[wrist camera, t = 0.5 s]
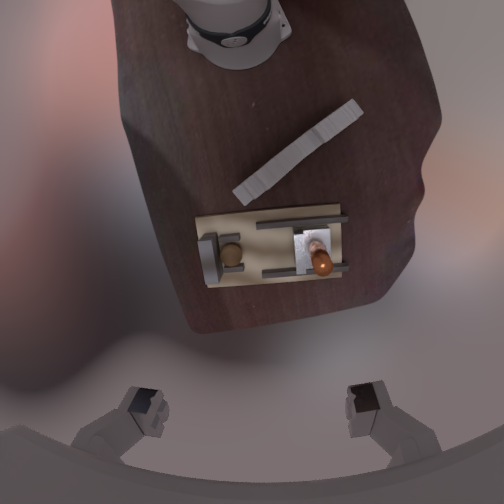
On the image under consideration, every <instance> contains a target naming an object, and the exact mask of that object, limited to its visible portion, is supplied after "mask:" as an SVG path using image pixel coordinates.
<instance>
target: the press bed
mask: <svg viewBox="0 0 504 504" xmlns="http://www.w3.org/2000/svg"><path fill="white" fill-rule="evenodd" d="M195 221H196V227H197V233H198V238H199V240H198V241H197V242H198V247H199V252H200V258H201V263H202V268H203V273H204V278H205V283H206V285H207V286H208V288H209V287H225V286H240V285H254V284H267V283H280V282H292V281H304V280H315V279H326V278H336V277H342V272H345V271H349V265H348V264H347V262H346V263H342V246H341V223H344V222H348V216H347V215H346V214H343V215H341V214H340V204H339V203H331V204H318V205H305V206H293V207H282V208H271V209H261V210H251V211H241V212H232V213H223V214H214V215H206V216H197V217H196V218H195ZM320 225H328V226H329V228H330V240H331V260H332V262H333V266H334V267H333V271H332V272H331V274H329V275H328V276H325V277H321V276H318V275H317V274H316V273H315V272H314V269H313V268H312V269H306V274H297V273H296V266H295V254H294V241H293V228H296V227H308V226H320ZM228 244H234V245H237V246H238V247H239V248H240V249H241V251H242V260H241V261H240V263H239V264H238V265H236V266H232V267H230V266H226V265H225V264H223V263H222V261H221V259H220V251H221V249H222V248H223V247H224V246H225V245H228Z"/></svg>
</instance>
